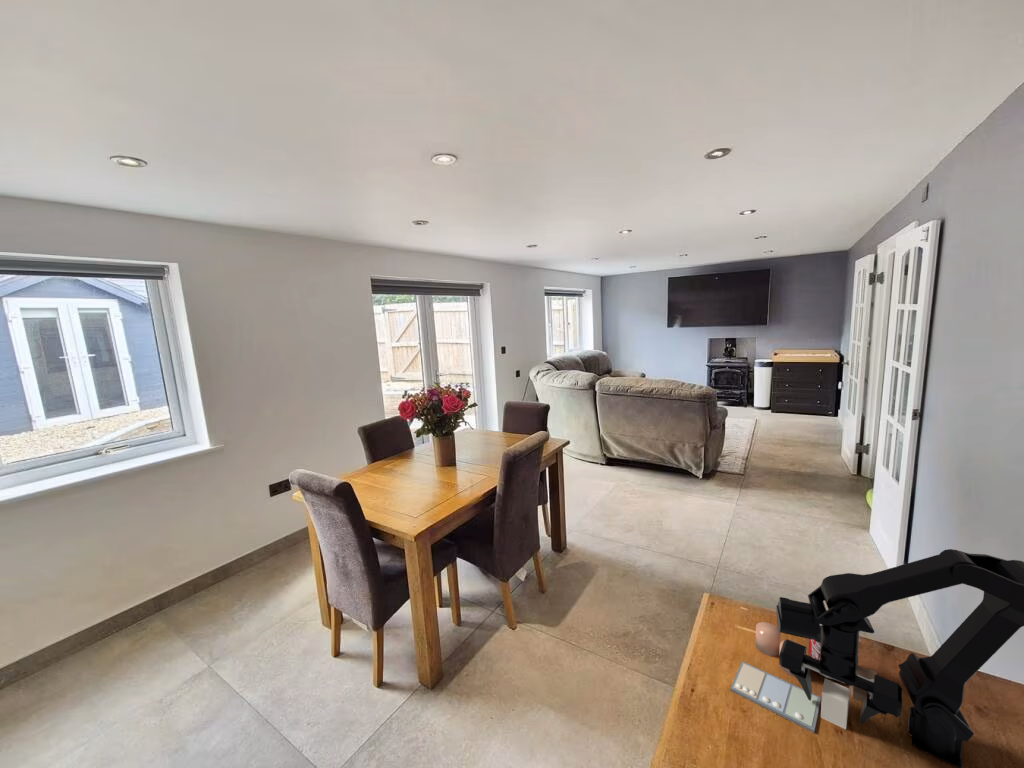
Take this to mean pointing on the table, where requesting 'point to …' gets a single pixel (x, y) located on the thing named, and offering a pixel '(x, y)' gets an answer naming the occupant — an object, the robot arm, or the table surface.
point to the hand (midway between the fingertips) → (834, 710)
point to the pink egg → (780, 665)
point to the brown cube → (857, 692)
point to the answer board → (776, 695)
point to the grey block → (835, 703)
